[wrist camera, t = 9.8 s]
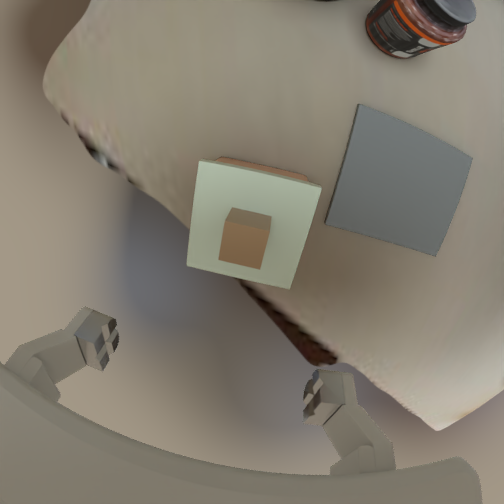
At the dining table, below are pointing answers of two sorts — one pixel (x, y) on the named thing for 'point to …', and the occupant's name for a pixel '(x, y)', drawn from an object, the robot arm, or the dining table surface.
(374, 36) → the supplement bottle
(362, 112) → the mat
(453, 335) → the dining table surface
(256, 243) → the lid
